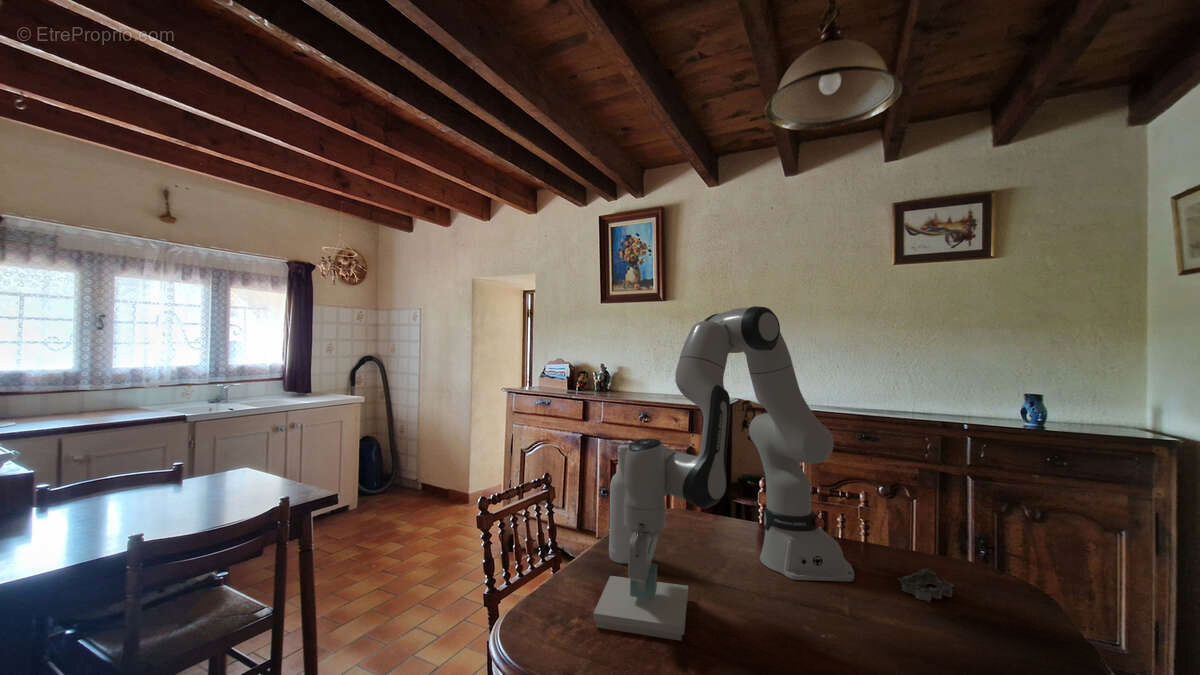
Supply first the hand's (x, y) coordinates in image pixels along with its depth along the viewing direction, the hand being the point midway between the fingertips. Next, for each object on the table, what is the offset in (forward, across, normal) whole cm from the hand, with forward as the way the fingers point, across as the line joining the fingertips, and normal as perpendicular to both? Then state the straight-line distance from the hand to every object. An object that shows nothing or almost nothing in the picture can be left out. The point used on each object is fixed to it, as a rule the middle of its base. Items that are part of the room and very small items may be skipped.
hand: (643, 581), depth 99 cm
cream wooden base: (+7, 0, 0) cm, 7 cm away
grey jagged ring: (+7, +25, -63) cm, 69 cm away
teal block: (+2, 0, 0) cm, 2 cm away
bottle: (+7, +25, +9) cm, 27 cm away
